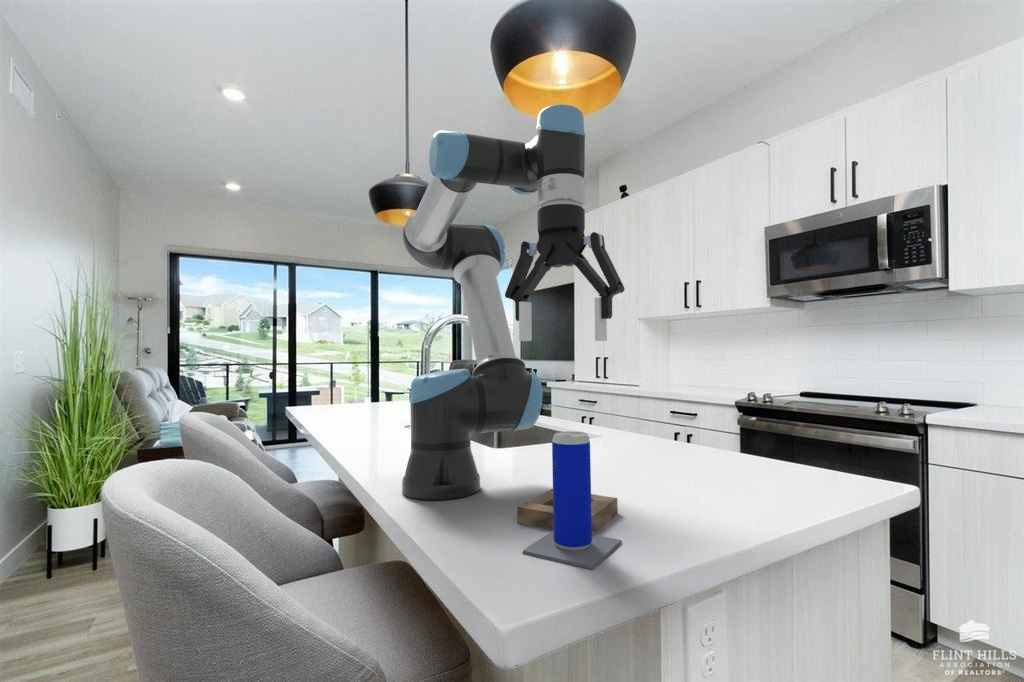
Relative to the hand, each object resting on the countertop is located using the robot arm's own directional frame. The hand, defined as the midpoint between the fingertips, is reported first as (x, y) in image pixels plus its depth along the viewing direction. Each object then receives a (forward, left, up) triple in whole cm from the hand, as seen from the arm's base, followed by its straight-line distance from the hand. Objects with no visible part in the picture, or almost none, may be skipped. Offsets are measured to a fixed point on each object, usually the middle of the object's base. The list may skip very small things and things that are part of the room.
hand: (561, 341), depth 80 cm
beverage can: (+6, -10, -28) cm, 30 cm away
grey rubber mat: (+6, -10, -28) cm, 31 cm away
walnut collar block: (0, +1, -28) cm, 28 cm away
